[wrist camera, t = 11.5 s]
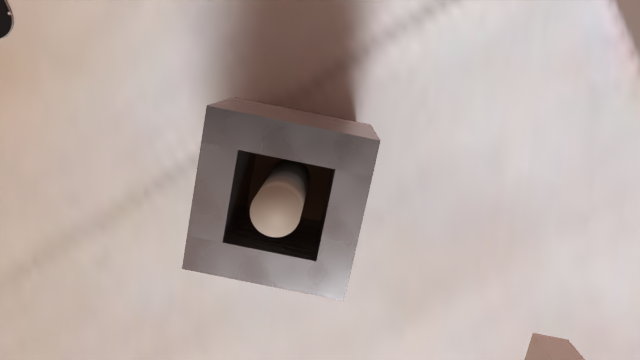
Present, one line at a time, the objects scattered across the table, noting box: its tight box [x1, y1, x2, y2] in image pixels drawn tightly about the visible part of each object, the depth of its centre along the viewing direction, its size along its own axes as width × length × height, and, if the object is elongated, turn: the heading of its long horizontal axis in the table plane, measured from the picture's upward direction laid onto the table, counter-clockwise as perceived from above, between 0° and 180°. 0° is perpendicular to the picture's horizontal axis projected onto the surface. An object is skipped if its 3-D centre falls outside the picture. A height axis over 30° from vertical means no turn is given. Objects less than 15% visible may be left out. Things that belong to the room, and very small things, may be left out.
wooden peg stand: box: [247, 153, 332, 237], centre depth 26 cm, size 6×6×11 cm
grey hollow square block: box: [182, 97, 380, 301], centre depth 25 cm, size 7×7×6 cm
